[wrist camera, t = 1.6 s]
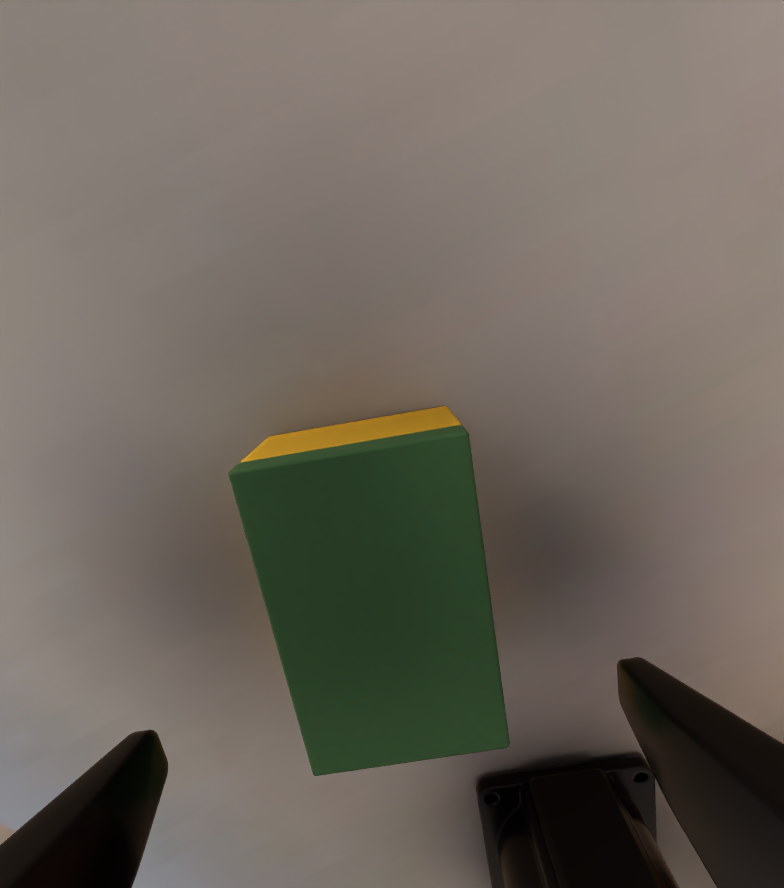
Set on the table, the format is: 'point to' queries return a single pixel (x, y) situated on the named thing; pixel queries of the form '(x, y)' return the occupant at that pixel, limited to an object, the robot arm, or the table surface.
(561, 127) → the table surface
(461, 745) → the dish sponge
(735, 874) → the robot arm
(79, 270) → the table surface
